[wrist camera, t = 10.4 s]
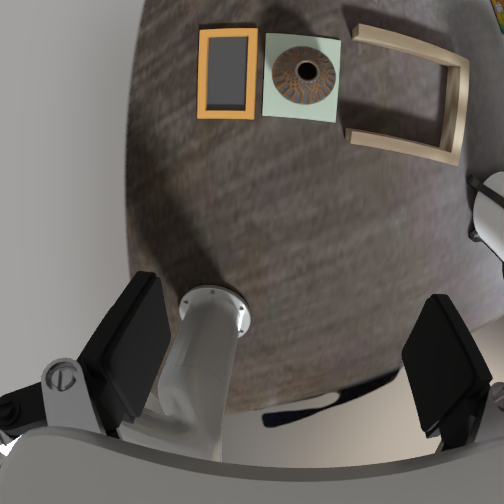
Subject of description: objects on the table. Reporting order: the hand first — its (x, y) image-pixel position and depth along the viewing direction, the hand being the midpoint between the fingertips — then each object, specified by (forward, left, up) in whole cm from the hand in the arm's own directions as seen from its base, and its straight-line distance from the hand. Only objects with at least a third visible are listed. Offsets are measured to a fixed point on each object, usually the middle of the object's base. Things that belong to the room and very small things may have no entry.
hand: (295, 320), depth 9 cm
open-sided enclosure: (+10, -14, -30) cm, 34 cm away
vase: (+10, -1, -30) cm, 31 cm away
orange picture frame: (+10, +8, -30) cm, 32 cm away
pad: (+10, -1, -30) cm, 31 cm away
